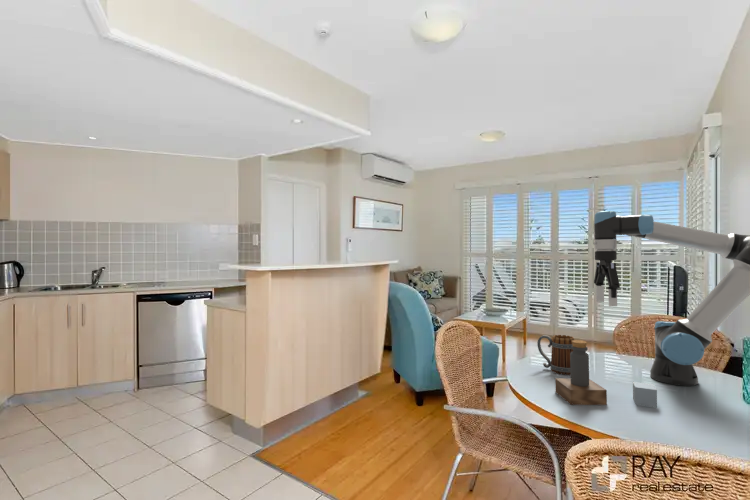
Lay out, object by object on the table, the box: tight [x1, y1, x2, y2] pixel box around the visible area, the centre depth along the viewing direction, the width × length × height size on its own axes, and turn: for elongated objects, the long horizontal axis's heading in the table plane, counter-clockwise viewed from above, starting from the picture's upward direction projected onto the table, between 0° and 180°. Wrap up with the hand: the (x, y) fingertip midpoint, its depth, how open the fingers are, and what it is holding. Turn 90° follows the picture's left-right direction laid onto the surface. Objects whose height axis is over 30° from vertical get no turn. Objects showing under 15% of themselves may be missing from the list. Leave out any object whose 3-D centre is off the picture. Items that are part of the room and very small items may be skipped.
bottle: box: [570, 339, 590, 387], centre depth 138 cm, size 6×6×15 cm
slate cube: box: [632, 381, 658, 409], centre depth 133 cm, size 6×6×6 cm
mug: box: [536, 334, 575, 376], centre depth 169 cm, size 16×11×15 cm
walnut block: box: [554, 377, 608, 406], centre depth 138 cm, size 12×12×5 cm
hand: (606, 303), depth 155 cm, fingers open, 13 cm apart
